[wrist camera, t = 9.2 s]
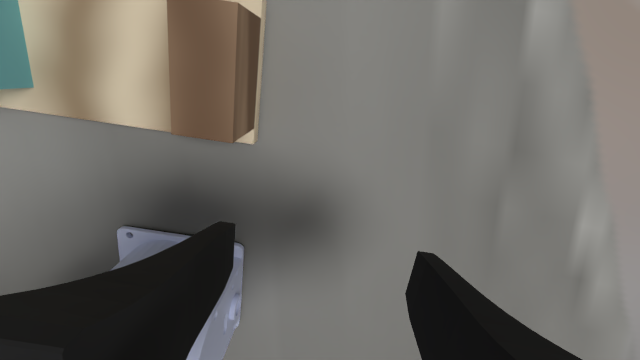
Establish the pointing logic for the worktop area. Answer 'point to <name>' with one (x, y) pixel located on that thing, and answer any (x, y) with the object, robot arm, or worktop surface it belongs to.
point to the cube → (13, 48)
